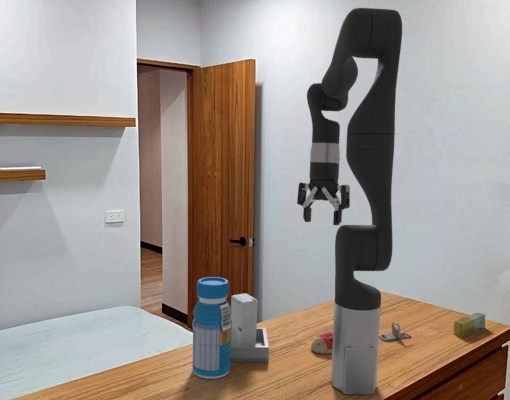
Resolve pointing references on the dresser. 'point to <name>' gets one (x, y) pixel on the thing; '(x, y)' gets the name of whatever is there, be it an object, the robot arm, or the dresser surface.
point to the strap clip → (394, 334)
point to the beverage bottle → (212, 329)
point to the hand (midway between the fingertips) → (321, 223)
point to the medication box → (469, 325)
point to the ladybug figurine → (323, 343)
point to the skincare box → (243, 320)
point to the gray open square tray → (252, 349)
